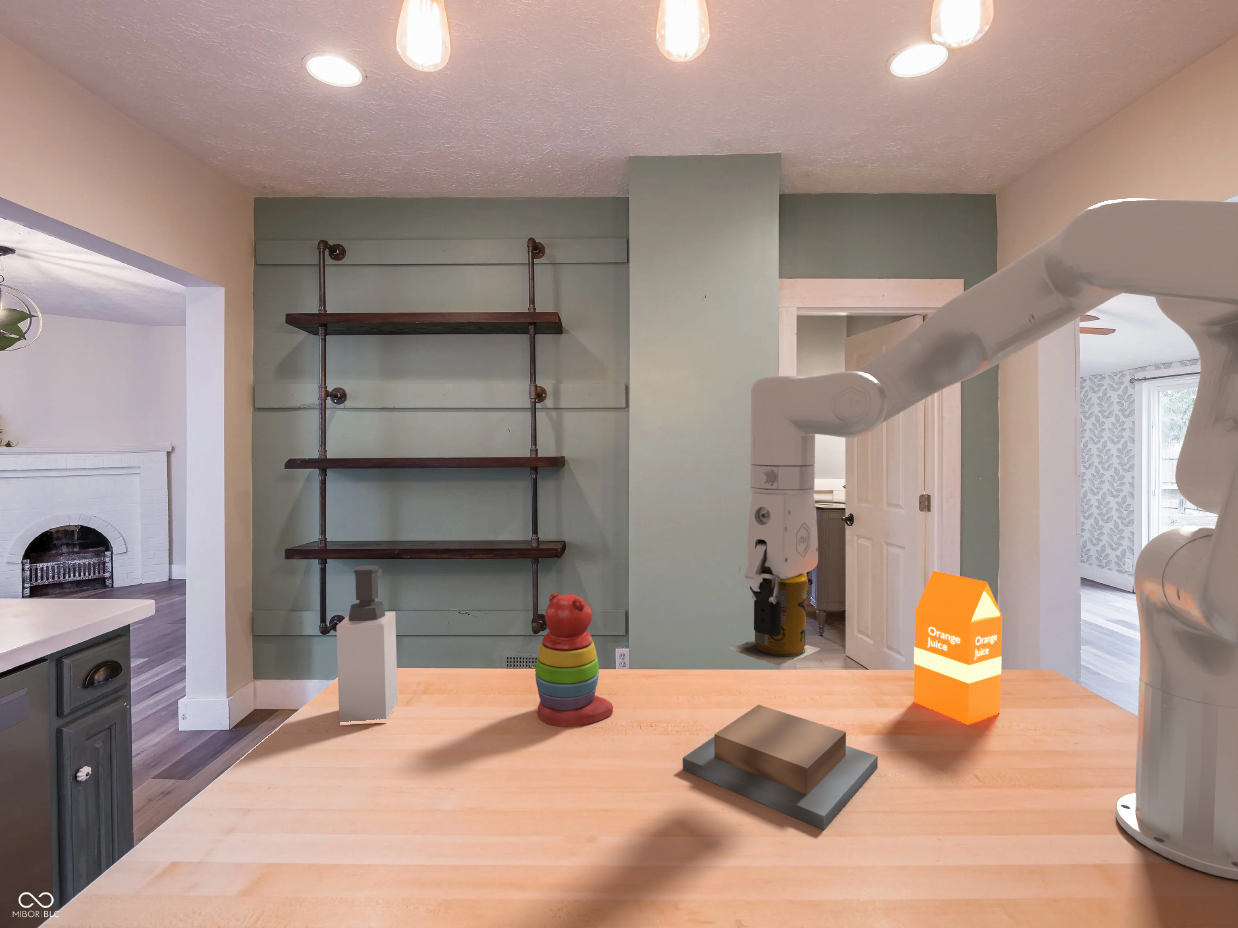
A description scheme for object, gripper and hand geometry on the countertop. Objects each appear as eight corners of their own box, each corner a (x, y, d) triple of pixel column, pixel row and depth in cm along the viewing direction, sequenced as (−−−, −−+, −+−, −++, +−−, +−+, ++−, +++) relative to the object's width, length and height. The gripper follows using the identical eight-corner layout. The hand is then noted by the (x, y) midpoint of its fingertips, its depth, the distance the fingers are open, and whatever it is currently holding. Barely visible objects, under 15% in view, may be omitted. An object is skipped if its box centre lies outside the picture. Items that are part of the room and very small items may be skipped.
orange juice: (967, 725, 88) (970, 585, 87) (912, 701, 96) (914, 572, 95) (1001, 713, 92) (1004, 578, 91) (945, 691, 99) (947, 567, 99)
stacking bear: (619, 712, 93) (618, 594, 92) (567, 736, 85) (566, 608, 85) (571, 691, 100) (570, 582, 99) (520, 712, 93) (518, 594, 92)
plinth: (877, 767, 77) (878, 731, 77) (823, 829, 65) (824, 787, 65) (748, 723, 89) (748, 692, 89) (682, 769, 77) (682, 733, 77)
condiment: (820, 650, 76) (821, 552, 75) (779, 667, 70) (780, 562, 70) (770, 635, 81) (770, 544, 81) (728, 650, 76) (729, 552, 75)
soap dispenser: (401, 697, 98) (398, 559, 97) (386, 723, 90) (382, 571, 89) (358, 699, 98) (355, 560, 97) (339, 725, 89) (335, 573, 88)
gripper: (776, 486, 66) (775, 652, 67) (840, 477, 79) (838, 617, 80) (716, 482, 71) (715, 637, 72) (785, 474, 84) (784, 606, 85)
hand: (780, 625), depth 76 cm, fingers closed on condiment, 6 cm apart
